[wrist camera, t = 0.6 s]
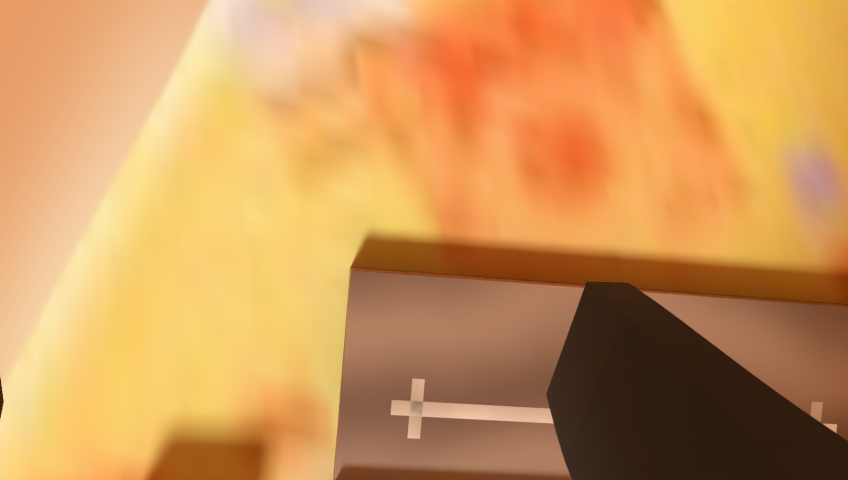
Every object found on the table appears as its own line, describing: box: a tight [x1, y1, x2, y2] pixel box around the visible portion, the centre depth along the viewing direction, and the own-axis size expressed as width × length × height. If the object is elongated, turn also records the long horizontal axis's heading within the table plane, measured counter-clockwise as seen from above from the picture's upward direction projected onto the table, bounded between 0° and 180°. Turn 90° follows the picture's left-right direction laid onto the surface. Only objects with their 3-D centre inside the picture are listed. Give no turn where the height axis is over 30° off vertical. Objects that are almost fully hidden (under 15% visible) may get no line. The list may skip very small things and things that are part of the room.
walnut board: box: [333, 268, 848, 480], centre depth 33 cm, size 10×26×2 cm, turn 85°
